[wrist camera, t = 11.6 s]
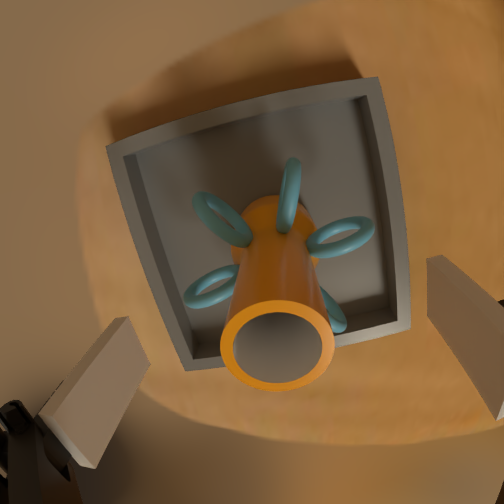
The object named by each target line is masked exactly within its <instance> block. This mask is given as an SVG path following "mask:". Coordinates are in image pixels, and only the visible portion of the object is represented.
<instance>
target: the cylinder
mask: <svg viewBox="0 0 504 504" xmlns="http://www.w3.org/2000/svg"><path fill="white" fill-rule="evenodd" d="M300 183H301V163H300V161H299V159H297V158H295V157H292V158H289V159H288V160H287V162H286V165H285V168H284V173H283V178H282V184H281V189H280V195H269V196H264V197H261V198H259V199H257V200H255V201H253V202H252V203H251V204H250V205H248V206H247V207H246V209H245V210H244V211H243V213H242V214H241V216H240V215H239V214H238V213H237V212H236V211H235V210H234V209H233V208H232V207H231V206H229V205H228V204H227V203H226V202H224V201H223V200H222V199H220V198H218V197H217V196H215V195H213V194H211V193H209V192H205V191H199V192H197V193H195V194H194V196H193V198H192V206H193V208H194V210H195V212H196V214H197V215H198V217H199V218H200V219H201V221H202V222H203V223H204V224H205V225H206V226H207V227H208V228H209V229H210V230H211V231H212V232H213V233H215V234H216V235H217V236H218V237H220V238H221V239H222V240H224V241H226V242H227V243H229V244H231V255H232V259H233V262H234V265H228V266H224V267H221V268H218V269H215V270H213V271H211V272H209V273H207V274H205V275H204V276H202V277H200V278H199V279H197V280H196V281H195V282H193V283H192V284H191V285H190V286H189V287H188V288H187V290H186V291H185V293H184V295H183V301H184V303H185V305H186V306H188V307H190V308H193V309H199V308H205V307H209V306H212V305H214V304H217V303H219V302H221V301H223V300H225V299H226V298H228V297H229V296H231V295H232V298H231V302H230V305H229V309H228V313H227V317H226V321H225V325H224V329H223V332H222V336H221V341H220V351H221V356H222V359H223V362H224V364H225V365H226V367H227V368H228V370H229V371H230V372H231V373H232V374H233V375H234V376H235V377H236V378H237V379H239V380H240V381H241V382H243V383H245V384H247V385H249V386H251V387H254V388H257V389H260V390H265V391H287V390H293V389H296V388H299V387H302V386H305V385H307V384H309V383H310V382H312V381H314V380H315V379H316V378H318V377H319V376H320V375H321V374H322V373H323V372H324V371H325V370H326V368H327V367H328V366H329V364H330V362H331V360H332V357H333V354H334V349H335V340H334V335H333V332H335V333H341V332H343V331H344V330H345V329H346V327H347V320H346V318H345V315H344V313H343V312H342V310H341V308H340V307H339V306H338V304H337V303H336V302H335V300H334V299H333V298H332V297H331V296H330V295H329V294H328V293H327V292H326V291H325V290H324V289H323V288H322V287H321V286H320V285H319V283H318V279H317V276H316V273H315V268H316V266H317V264H318V261H319V258H331V257H336V256H340V255H343V254H346V253H348V252H351V251H353V250H355V249H357V248H359V247H360V246H362V245H363V244H365V243H366V242H367V241H368V240H369V239H370V238H371V237H372V235H373V234H374V231H375V225H374V223H373V221H372V220H371V219H369V218H367V217H364V216H353V217H347V218H343V219H339V220H336V221H334V222H331V223H329V224H327V225H325V226H323V227H321V228H319V229H318V230H317V228H316V226H315V224H314V222H313V220H312V218H311V216H310V214H309V212H308V211H307V210H306V208H305V207H304V206H303V205H302V204H300V203H299V202H298V198H299V191H300ZM211 208H212V209H214V210H215V211H217V212H218V213H219V214H221V215H222V216H223V217H224V218H225V219H226V220H227V221H228V222H229V223H230V224H231V225H232V226H233V227H234V228H235V229H233V228H231V227H230V226H229V225H227V224H226V223H225V222H224V221H222V220H221V219H220V218H219V217H218V216H217V215H216V214H215V213H214V212H213V211H212V209H211ZM351 229H359V230H358V231H357V232H355V233H354V234H352V235H350V236H348V237H346V238H344V239H341V240H339V241H335V242H332V243H327V244H321V242H322V241H324V240H325V239H327V238H329V237H330V236H332V235H335V234H337V233H340V232H343V231H346V230H351ZM228 277H231V278H230V279H229V280H228V281H227V282H226V283H224V284H223V285H221V286H219V287H218V288H216V289H214V290H212V291H210V292H207V293H204V294H201V295H198V294H199V293H200V292H201V291H202V290H204V289H205V288H206V287H208V286H210V285H211V284H213V283H215V282H217V281H219V280H222V279H225V278H228ZM326 309H327V310H328V311H329V312H327V310H326Z"/></svg>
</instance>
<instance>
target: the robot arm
mask: <svg viewBox="0 0 504 504" xmlns="http://www.w3.org/2000/svg"><path fill="white" fill-rule="evenodd" d="M427 316H428V318H429V319H430V320H431V322H432V323H433V324H434V326H435V327H436V329H437V330H438V331H439V333H440V334H441V336H442V337H443V338H444V340H445V341H446V343H447V344H448V346H449V347H450V349H451V350H452V352H453V353H454V354H455V356H456V357H457V359H458V360H459V362H460V363H461V365H462V366H463V368H464V370H465V371H466V373H467V374H468V376H469V377H470V379H471V380H472V382H473V384H474V385H475V387H476V388H477V390H478V392H479V393H480V395H481V396H482V398H483V400H484V401H485V403H486V405H487V406H488V408H489V410H490V411H491V413H492V415H493V417H494V418H495V420H496V421H497V420H499V419H501V418H503V417H504V300H501V301H498V302H497V301H496V300H495V299H494V298H493V297H491V296H490V295H489V294H488V293H487V292H486V291H485V290H484V289H482V288H481V287H480V286H479V285H478V284H477V283H476V282H474V281H473V280H472V279H471V278H470V277H469V276H467V275H466V274H465V273H464V272H463V271H461V270H460V269H459V268H458V267H457V266H455V265H454V264H453V263H452V262H450V261H449V260H448V259H447V258H446V257H444V256H443V255H439V256H435V257H431V258H427ZM149 366H150V362H149V360H148V358H147V356H146V354H145V352H144V350H143V348H142V345H141V343H140V341H139V339H138V337H137V335H136V332H135V330H134V328H133V326H132V324H131V321H130V319H129V317H128V316H127V317H120V318H115V319H114V320H113V321H112V323H111V324H110V325H109V326H108V327H107V328H106V330H105V331H104V332H103V333H102V334H101V336H100V337H99V338H98V339H97V340H96V342H95V343H94V344H93V345H92V346H91V348H90V349H89V350H88V351H87V352H86V354H85V355H84V356H83V357H82V359H81V360H80V361H79V362H78V364H77V365H76V366H75V367H74V368H73V370H72V371H71V372H70V374H69V375H68V376H67V377H66V378H65V380H63V381H62V382H61V384H60V385H59V386H58V388H57V389H56V391H55V392H54V393H53V394H52V395H51V398H49V399H48V401H47V402H46V403H45V404H44V406H43V407H42V408H41V409H40V411H39V412H38V414H37V415H36V416H35V417H34V419H33V418H32V416H31V415H30V413H29V412H28V411H27V409H26V408H25V407H24V405H23V404H22V402H21V401H19V400H13V401H10V402H8V403H6V404H4V405H3V406H2V407H1V408H0V423H1V424H2V426H3V427H4V428H5V429H6V431H3V430H2V429H1V428H0V467H1V468H2V469H3V470H4V471H5V472H6V473H7V477H6V478H4V477H3V476H2V475H1V474H0V504H83V502H82V499H81V495H80V491H79V488H78V484H77V481H76V477H75V473H74V469H73V467H72V465H71V464H70V463H69V459H70V457H71V456H72V457H73V458H74V459H75V460H76V461H77V462H78V463H79V465H81V466H85V467H89V468H94V469H95V468H96V466H97V465H98V463H99V461H100V459H101V457H102V455H103V453H104V451H105V449H106V447H107V445H108V443H109V441H110V439H111V437H112V435H113V433H114V431H115V429H116V427H117V426H118V424H119V422H120V420H121V418H122V416H123V414H124V412H125V410H126V408H127V407H128V405H129V403H130V401H131V399H132V397H133V395H134V394H135V392H136V390H137V388H138V386H139V384H140V382H141V381H142V379H143V377H144V375H145V373H146V371H147V370H148V368H149ZM495 504H504V482H503V485H502V487H501V490H500V493H499V495H498V498H497V500H496V503H495Z"/></svg>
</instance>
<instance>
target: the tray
mask: <svg viewBox="0 0 504 504" xmlns="http://www.w3.org/2000/svg"><path fill="white" fill-rule="evenodd" d="M105 147H106V150H107V154H108V158H109V162H110V166H111V169H112V173H113V176H114V180H115V183H116V187H117V190H118V194H119V197H120V200H121V204H122V207H123V210H124V213H125V217H126V220H127V223H128V226H129V229H130V232H131V235H132V238H133V241H134V244H135V247H136V250H137V253H138V256H139V258H140V261H141V264H142V267H143V269H144V272H145V275H146V278H147V280H148V283H149V286H150V288H151V291H152V293H153V296H154V299H155V301H156V304H157V306H158V309H159V311H160V314H161V316H162V319H163V321H164V324H165V326H166V328H167V331H168V333H169V335H170V338H171V340H172V342H173V345H174V347H175V349H176V352H177V354H178V356H179V358H180V361H181V363H182V365H183V367H184V369H185V371H193V370H202V369H211V368H219V367H226V365H225V364H224V362H223V359H222V356H221V351H220V341H221V336H222V332H223V329H224V325H225V321H226V317H227V313H228V309H229V305H230V302H231V298H232V295H231V296H229V297H228V298H226V299H225V300H223V301H221V302H219V303H217V304H214V305H212V306H209V307H205V308H199V309H193V308H190V307H188V306H186V305H185V303H184V301H183V295H184V293H185V291H186V290H187V288H188V287H189V286H190V285H191V284H192V283H193V282H195V281H196V280H197V279H199V278H200V277H202V276H204V275H205V274H207V273H209V272H211V271H213V270H215V269H218V268H221V267H224V266H228V265H234V262H233V259H232V255H231V244H229V243H227V242H226V241H224V240H222V239H221V238H220V237H218V236H217V235H216V234H215V233H213V232H212V231H211V230H210V229H209V228H208V227H207V226H206V225H205V224H204V223H203V222H202V221H201V219H200V218H199V217H198V215H197V214H196V212H195V210H194V208H193V206H192V198H193V196H194V194H195V193H197V192H199V191H205V192H209V193H211V194H213V195H215V196H217V197H218V198H220V199H222V200H223V201H224V202H226V203H227V204H228V205H229V206H231V207H232V208H233V209H234V210H235V211H236V212H237V213H238V214H239V215H240V216H241V214H242V213H243V211H244V210H245V209H246V207H247V206H248V205H250V204H251V203H252V202H253V201H255V200H257V199H259V198H261V197H264V196H269V195H280V189H281V184H282V178H283V173H284V168H285V165H286V162H287V160H288V159H289V158H292V157H295V158H297V159H299V161H300V163H301V183H300V191H299V198H298V202H299V203H300V204H302V205H303V206H304V207H305V208H306V210H307V211H308V212H309V214H310V216H311V218H312V220H313V222H314V224H315V226H316V228H317V230H318V229H319V228H321V227H323V226H325V225H327V224H329V223H331V222H334V221H336V220H339V219H343V218H347V217H353V216H364V217H367V218H369V219H371V220H372V221H373V223H374V225H375V231H374V234H373V235H372V237H371V238H370V239H369V240H368V241H367V242H366V243H365V244H363V245H362V246H360V247H359V248H357V249H355V250H353V251H351V252H348V253H346V254H343V255H340V256H336V257H331V258H319V261H318V264H317V266H316V268H315V273H316V276H317V279H318V283H319V285H320V286H321V287H322V288H323V289H324V290H325V291H326V292H327V293H328V294H329V295H330V296H331V297H332V298H333V299H334V300H335V302H336V303H337V304H338V306H339V307H340V308H341V310H342V312H343V313H344V315H345V318H346V320H347V327H346V329H345V330H344V331H343V332H341V333H335V332H333V335H334V340H335V348H336V347H341V346H345V345H350V344H354V343H358V342H362V341H367V340H371V339H375V338H379V337H383V336H386V335H390V334H394V333H398V332H401V331H405V330H408V329H411V302H410V274H409V258H408V244H407V233H406V223H405V214H404V206H403V198H402V191H401V184H400V177H399V171H398V165H397V159H396V154H395V148H394V143H393V138H392V133H391V128H390V123H389V119H388V115H387V110H386V106H385V102H384V98H383V94H382V90H381V86H380V82H379V79H378V77H371V78H362V79H354V80H346V81H339V82H332V83H326V84H320V85H314V86H308V87H303V88H298V89H292V90H287V91H283V92H278V93H273V94H269V95H264V96H260V97H256V98H252V99H247V100H243V101H240V102H236V103H232V104H228V105H224V106H221V107H217V108H214V109H210V110H207V111H203V112H200V113H197V114H193V115H190V116H187V117H184V118H181V119H178V120H175V121H172V122H169V123H166V124H163V125H160V126H157V127H154V128H151V129H149V130H146V131H143V132H140V133H138V134H135V135H133V136H130V137H127V138H125V139H122V140H120V141H117V142H115V143H112V144H110V145H107V146H105ZM211 209H212V208H211ZM212 211H213V212H214V213H215V214H216V215H217V216H218V217H219V218H220V219H221V220H222V221H224V222H225V223H226V224H227V225H229V226H230V227H231V228H233V229H235V228H234V227H233V226H232V225H231V224H230V223H229V222H228V221H227V220H226V219H225V218H224V217H223V216H222V215H221V214H219V213H218V212H217V211H215V210H214V209H212ZM358 230H359V229H351V230H346V231H343V232H340V233H337V234H335V235H332V236H330V237H329V238H327V239H325V240H324V241H322V242H321V244H327V243H332V242H335V241H339V240H341V239H344V238H346V237H348V236H350V235H352V234H354V233H355V232H357V231H358ZM230 278H231V277H228V278H225V279H222V280H219V281H217V282H215V283H213V284H211V285H210V286H208V287H206V288H205V289H204V290H202V291H201V292H200V293H199V294H198V295H201V294H204V293H207V292H210V291H212V290H214V289H216V288H218V287H219V286H221V285H223V284H224V283H226V282H227V281H228V280H229V279H230ZM326 310H327V309H326ZM327 312H329V311H328V310H327Z"/></svg>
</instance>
